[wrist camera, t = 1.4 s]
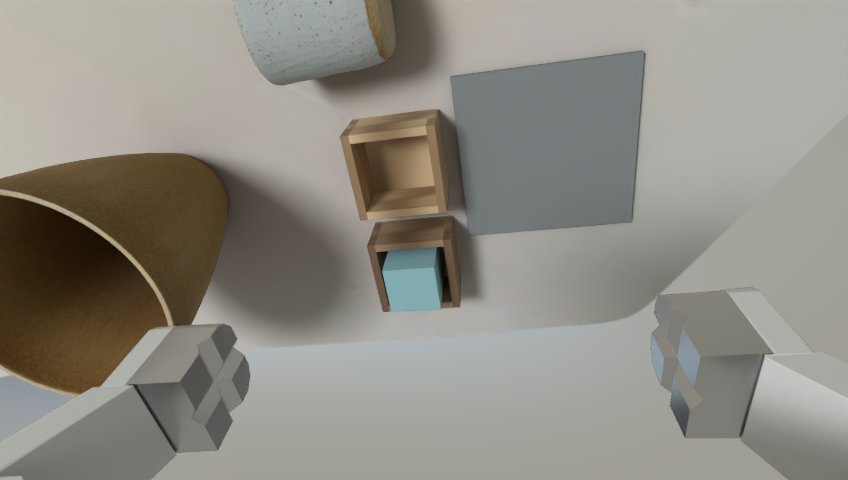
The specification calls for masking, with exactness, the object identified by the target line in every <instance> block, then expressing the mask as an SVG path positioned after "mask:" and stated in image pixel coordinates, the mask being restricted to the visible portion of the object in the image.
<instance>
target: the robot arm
mask: <svg viewBox="0 0 848 480" xmlns="http://www.w3.org/2000/svg"><path fill="white" fill-rule="evenodd" d="M654 314H655V316H656V318H657V320H658V322H659V324H660V325H659V326H658V327H657V328H656V329H655V330H654V331H653V332H652V338H651V339H652V340H651V353H652V362H653V366H654V369H655V373H656V375H657V377H658V380H659V382H660V384H661V386H663V387H664V388H666V389H667V390H669V391H670V392H672V395H671V402H670V406H671V409H672V411H673V413H674V415H675V417H676V420H677V422H678V424H679V426H680V428H681V430H682V432H683V435H684V437H685V438H742V439H741V441H742V442H743V443H744V444H746V445H747V446H748V447H749V448H751V449H752V450H753V451H754V452H755V453H757V454H758V455H759V456H760V457H761V458H763V459H764V460H765V461H766V462H768V463H769V464H770V465H771V466H772V467H774V468H775V469H776V470H777V471H778V472H780V473H781V474H782V475H783V476H784V477H786V478H787V479H788V480H848V363H847V362H845V361H843V360H840V359H838V358H836V357H834V356H832V355H830V354H828V353H826V352H813V351H812V350H811V348H810V347H809V346H808V345H807V344H806V343H805V342H804V341H803V339H802V338H801V337H800V336H799V335H798V334H797V333H796V332H795V331H794V329H793V328H792V327H791V326H790V325H789V324H788V323H787V322H786V320H785V319H784V318H783V317H782V316H781V315H780V314H779V313H778V311H777V310H776V309H775V308H774V307H773V306H772V305H771V304H770V302H769V301H768V300H767V299H766V298H765V297H764V296H763V295H762V293H761V292H760V291H759V290H757V289H755V288H752V287H748V288H737V289H727V290H720V291H711V292H697V293H683V294H669V295H659V296H658V298H657V300H656V304H655V311H654ZM236 341H237V337H236V335H235V334H234V332H233V330H232V328H231V326H228V325H226V324H205V325H181V326H166V327H156V328H154V329H151V330H149V331H148V332H147V333H146V334H145V336H144V337H143V338H142V339H141V340H140V341H139V342H138V344H137V345H136V346H135V347H134V348H133V349H132V351H131V352H130V353H129V354H128V355H127V356H126V357H125V359H124V360H123V361H122V362H121V363H120V364H119V366H118V367H117V368H116V369H115V370H114V371H113V373H112V374H111V375H110V376H109V377H108V378H107V379H106V381H105V382H104V383H103V384H102V385H101V386H100V387H92V388H91V389H89V390H87V391H86V392H84V393H82V394H81V395H79V396H77V397H76V398H74V399H72V400H71V401H69V402H68V403H66V404H64V405H62V406H61V407H59V408H58V409H56V410H55V411H52V412H51V413H49V414H47V415H46V416H44V417H43V418H41V419H39V420H37V421H36V422H34V423H32V424H31V425H29V426H27V427H26V428H24V429H22V430H21V431H19V432H17V433H16V434H14V435H12V436H11V437H9V438H7V439H6V440H4V441H2V442H0V480H151V479H152V478H153V477H154V476H155V475H156V474H157V473H158V472H159V471H160V470H161V469H162V468H163V467H164V466H165V465H166V464H168V463H169V462H170V461H171V460H172V459H173V458H174V457H175V456H176V453H182V452H200V451H217V450H218V449H219V447H220V445H221V443H222V441H223V439H224V437H225V435H226V434H227V432H228V430H229V428H230V426H231V424H232V422H233V419H232V416H231V413H230V412H231V411H232V410H233V409H235V408H236V407H237V406H238V405H240V404H241V403H242V402H243V400H244V398H245V396H246V394H247V391H248V387H249V380H250V371H249V365H248V362H247V360H246V358H245V355H243V354H242V353H240V352H239V351H238V350H236V349H235V348H234V346H235V343H236Z"/></svg>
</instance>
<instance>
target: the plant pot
mask: <svg viewBox="0 0 848 480" xmlns="http://www.w3.org/2000/svg"><path fill="white" fill-rule="evenodd" d="M228 203H229V202H228V196H227V192H226V189H225V187H224V185H223V183H222V181H221V180H220V178H219V177H218V176H217V175H216V173H215V172H214V171H213V170H212V169H210V168H209V167H208V166H207V165H205V164H204V163H203V162H201V161H199V160H198V159H195V158H193V157H191V156H188V155H184V154H177V153H143V154H127V155H117V156H108V157H100V158H93V159H87V160H80V161H75V162H69V163H64V164H59V165H54V166H49V167H44V168H40V169H36V170H32V171H28V172H25V173H21V174H17V175H13V176H8V177H5V178H1V179H0V369H2V370H3V371H5V372H7V373H9V374H11V375H13V376H15V377H17V378H19V379H21V380H23V381H25V382H27V383H30V384H32V385H34V386H37V387H40V388H42V389H45V390H48V391H52V392H55V393H59V394H63V395H67V396H73V397H77V396H79V395H81V394H82V393H84V392H86V391H87V390H89V389H91V388H92V387H100V386H101V385H102V384H103V383H104V382H105V381H106V379H107V378H108V377H109V376H110V375H111V374H112V373H113V371H114V370H115V369H116V368H117V367H118V366H119V364H120V363H121V362H122V361H123V360H124V359H125V357H126V356H127V355H128V354H129V353H130V352H131V351H132V349H133V348H134V347H135V346H136V345H137V344H138V342H139V341H140V340H141V339H142V338H143V337H144V336H145V334H146V333H147V332H148V331H149V330H151V329H154V328H156V327H166V326H181V325H191V324H192V322H193V320H194V318H195V316H196V313H197V311H198V309H199V307H200V305H201V302H202V300H203V298H204V295H205V293H206V290H207V288H208V285H209V283H210V280H211V277H212V274H213V272H214V269H215V266H216V263H217V260H218V257H219V253H220V250H221V246H222V242H223V237H224V233H225V228H226V222H227V215H228Z"/></svg>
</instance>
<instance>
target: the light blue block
mask: <svg viewBox="0 0 848 480" xmlns="http://www.w3.org/2000/svg"><path fill="white" fill-rule="evenodd" d="M382 273H383V277H384V281H385V286H386V290H387V295H388V299H389V303H390V308H391V312H404V311H422V310H439V309H441V303H442V293H443V283H444V273H445V269H444V262H443V256H442V249H441V247H433V248H421V249H408V250H396V251H388V253H387V257H386V260H385V263H384V267H383V270H382Z"/></svg>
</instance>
